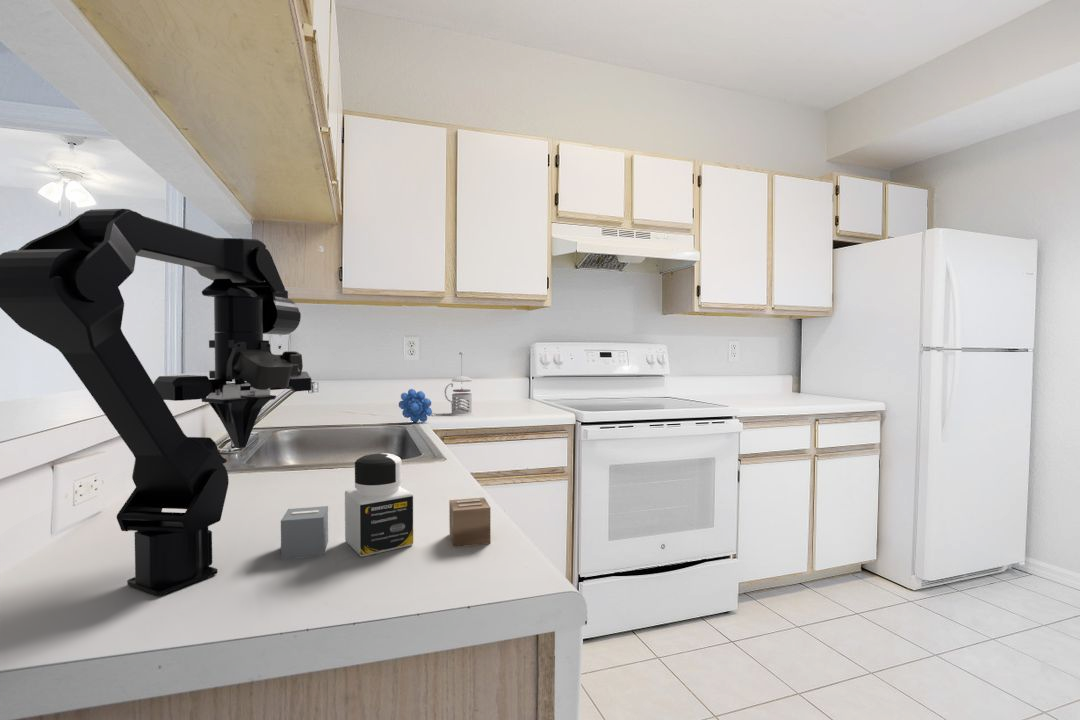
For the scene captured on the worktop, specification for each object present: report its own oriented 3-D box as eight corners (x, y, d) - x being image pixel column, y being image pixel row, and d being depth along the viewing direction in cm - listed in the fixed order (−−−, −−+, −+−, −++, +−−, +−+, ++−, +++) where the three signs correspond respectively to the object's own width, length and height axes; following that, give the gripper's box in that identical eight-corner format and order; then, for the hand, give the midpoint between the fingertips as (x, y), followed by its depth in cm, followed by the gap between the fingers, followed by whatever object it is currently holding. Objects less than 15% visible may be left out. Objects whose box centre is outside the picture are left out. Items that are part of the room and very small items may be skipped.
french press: (472, 416, 204) (472, 351, 204) (442, 416, 204) (442, 351, 204) (476, 412, 214) (475, 351, 213) (447, 412, 214) (447, 351, 214)
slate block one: (323, 555, 68) (323, 516, 67) (281, 560, 66) (280, 519, 66) (328, 542, 72) (327, 504, 72) (288, 545, 71) (288, 507, 71)
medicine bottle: (360, 558, 67) (359, 463, 66) (344, 541, 72) (343, 454, 72) (414, 545, 71) (413, 456, 70) (394, 530, 77) (394, 448, 76)
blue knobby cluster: (396, 424, 181) (396, 390, 181) (399, 422, 188) (399, 388, 188) (430, 424, 182) (430, 389, 182) (433, 421, 189) (432, 388, 189)
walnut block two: (490, 544, 72) (490, 506, 72) (453, 547, 70) (453, 509, 70) (484, 531, 76) (484, 496, 76) (449, 534, 75) (449, 499, 75)
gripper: (200, 329, 59) (202, 467, 60) (336, 333, 76) (337, 442, 76) (149, 331, 65) (151, 458, 65) (286, 334, 81) (287, 436, 81)
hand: (240, 447), depth 72 cm, fingers closed
